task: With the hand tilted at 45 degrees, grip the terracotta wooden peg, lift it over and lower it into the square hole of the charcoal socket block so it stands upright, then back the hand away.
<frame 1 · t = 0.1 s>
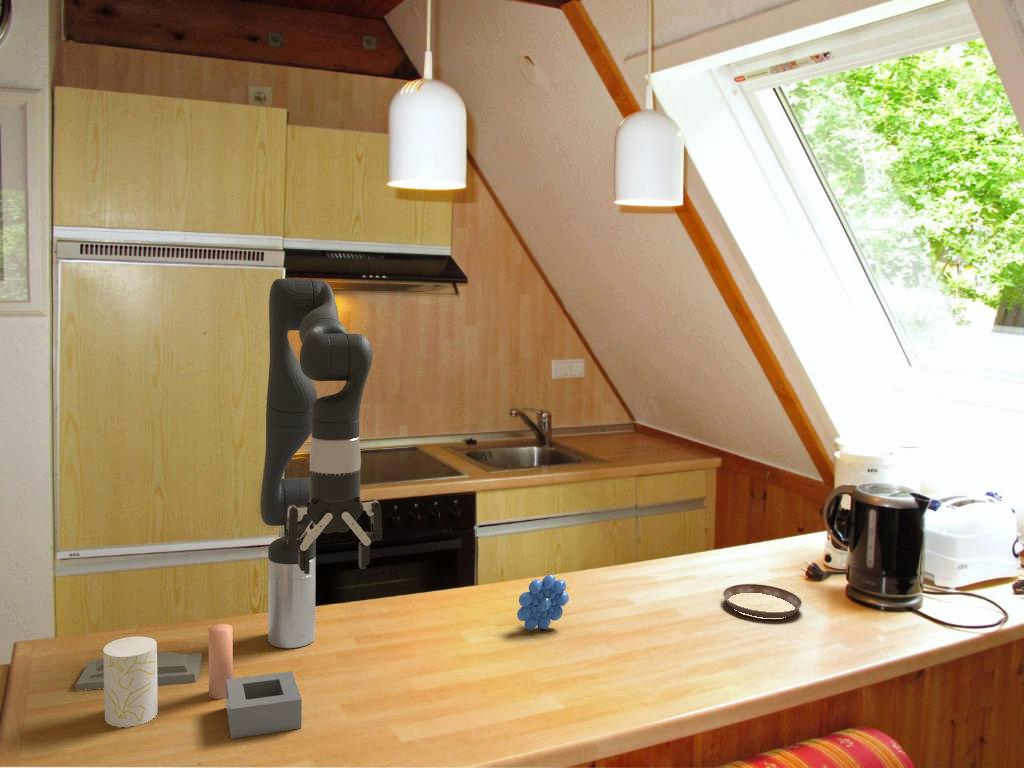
hand: (334, 570, 138), 29 cm above the worktop, tool pointing down, fingers open, 8 cm apart
soap mold: (141, 678, 166), on the worktop
socket block: (263, 717, 151), on the worktop
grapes: (540, 628, 194), on the worktop
peg: (220, 693, 159), on the worktop
white patterned cylinder: (131, 716, 151), on the worktop
dark grey ring: (761, 610, 210), on the worktop
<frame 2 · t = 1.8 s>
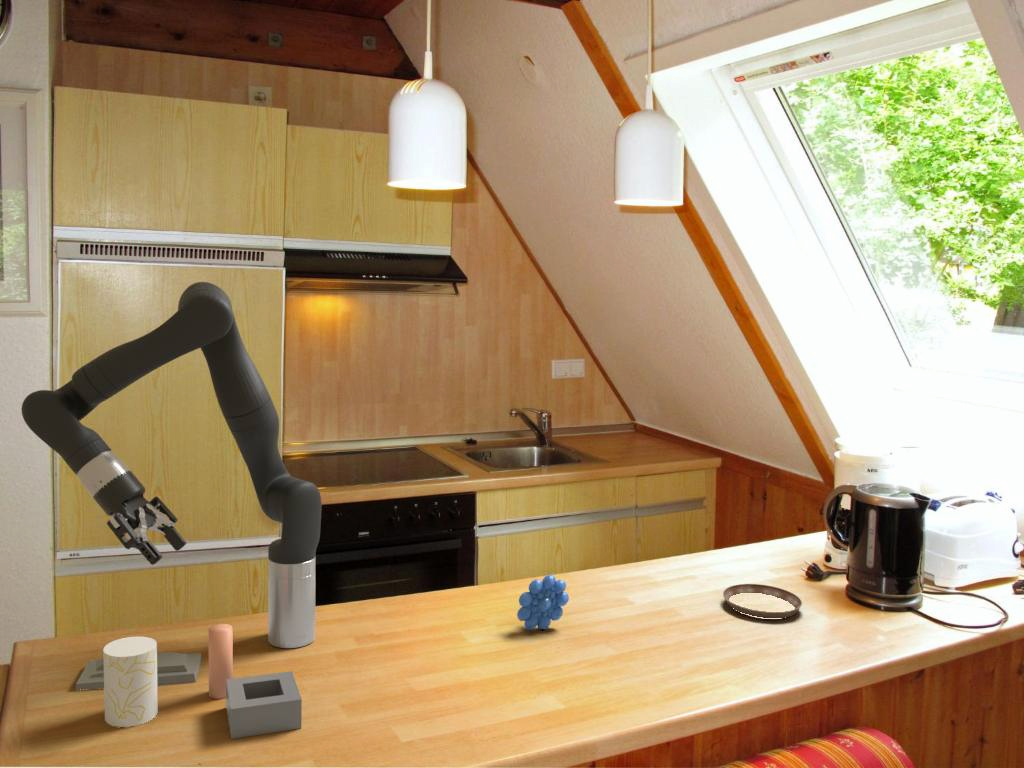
hand: (170, 554, 158), 24 cm above the worktop, tool tilted 40°, fingers open, 8 cm apart
nothing on the worktop moved.
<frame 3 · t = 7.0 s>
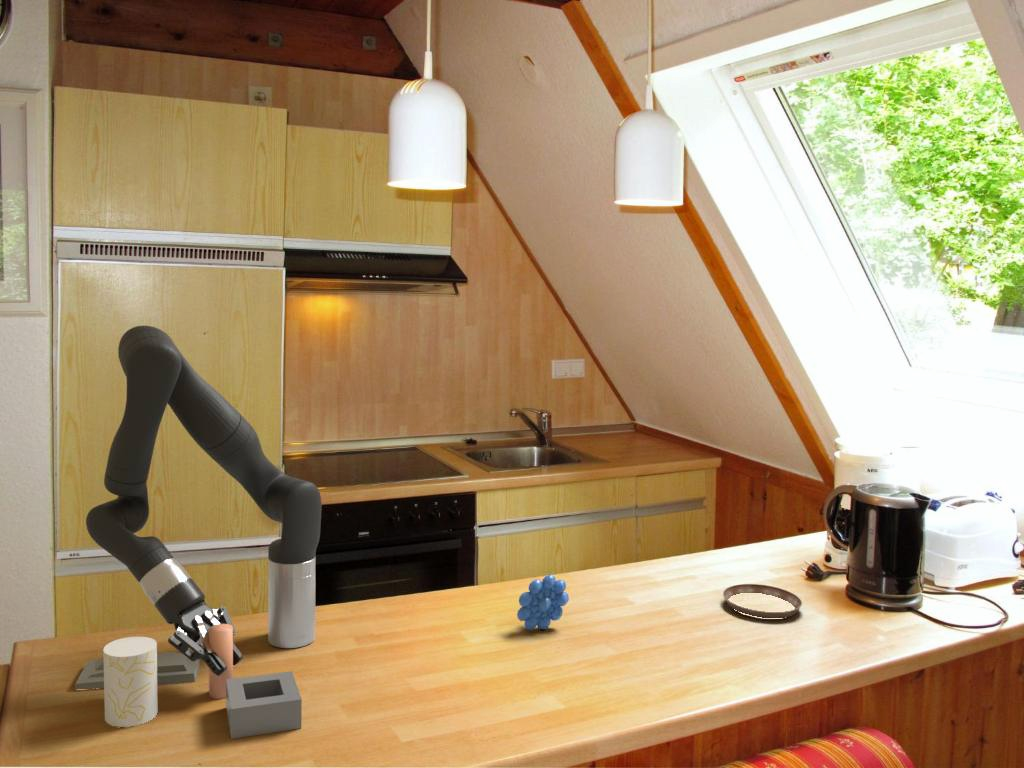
hand: (230, 666, 158), 5 cm above the worktop, tool tilted 45°, fingers closed on peg, 4 cm apart
peg: (221, 693, 159), on the worktop, touching gripper
everything else where it was.
when the fingers open (7 cm above the worktop, at t = 12.6 s): peg drops 2 cm, resting on socket block.
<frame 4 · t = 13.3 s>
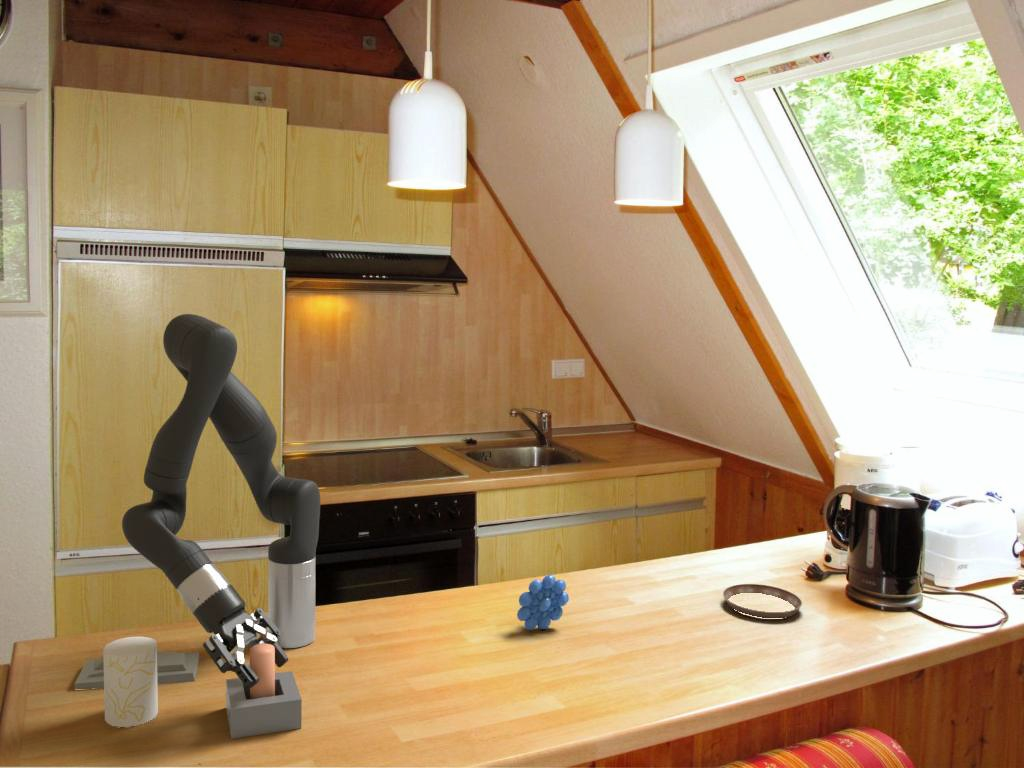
hand: (270, 674, 150), 8 cm above the worktop, tool tilted 45°, fingers open, 8 cm apart
peg: (262, 715, 151), resting on socket block
everything else where it was.
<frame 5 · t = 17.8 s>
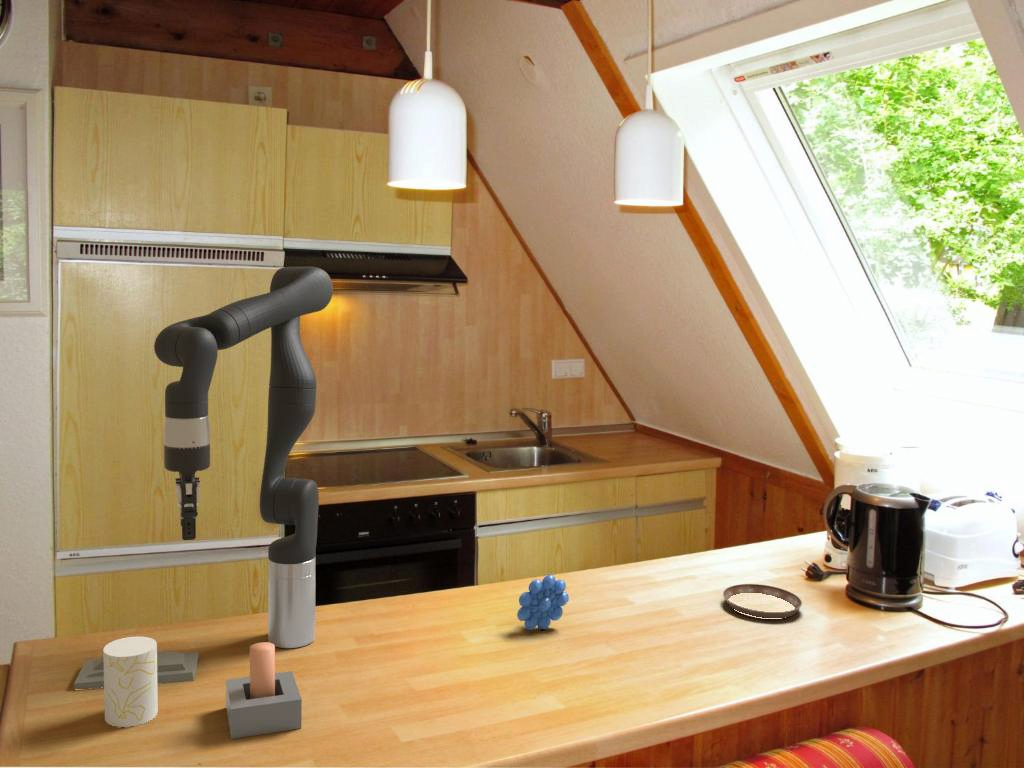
hand: (188, 532, 159), 28 cm above the worktop, tool pointing down, fingers open, 8 cm apart
at the end: peg 0.1 cm off-centre on the socket block, point 0.2 cm above the socket block's base; peg tilted 1°; the gripper is holding nothing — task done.
